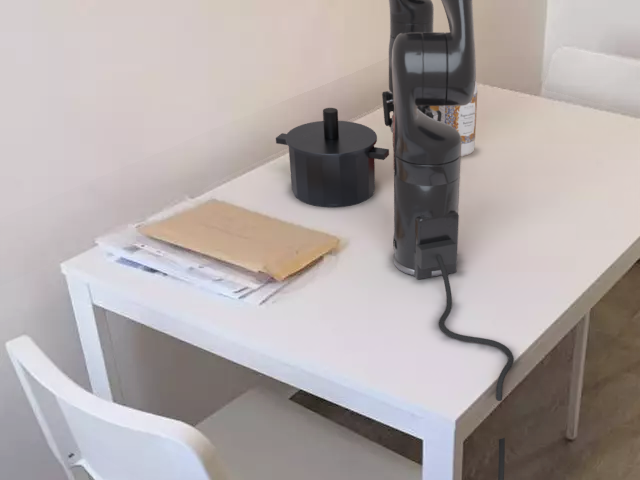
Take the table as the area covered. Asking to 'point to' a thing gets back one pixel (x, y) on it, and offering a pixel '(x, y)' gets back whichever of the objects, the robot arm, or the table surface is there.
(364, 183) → the pot
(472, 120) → the bath foam
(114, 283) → the table surface
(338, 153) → the pot lid
